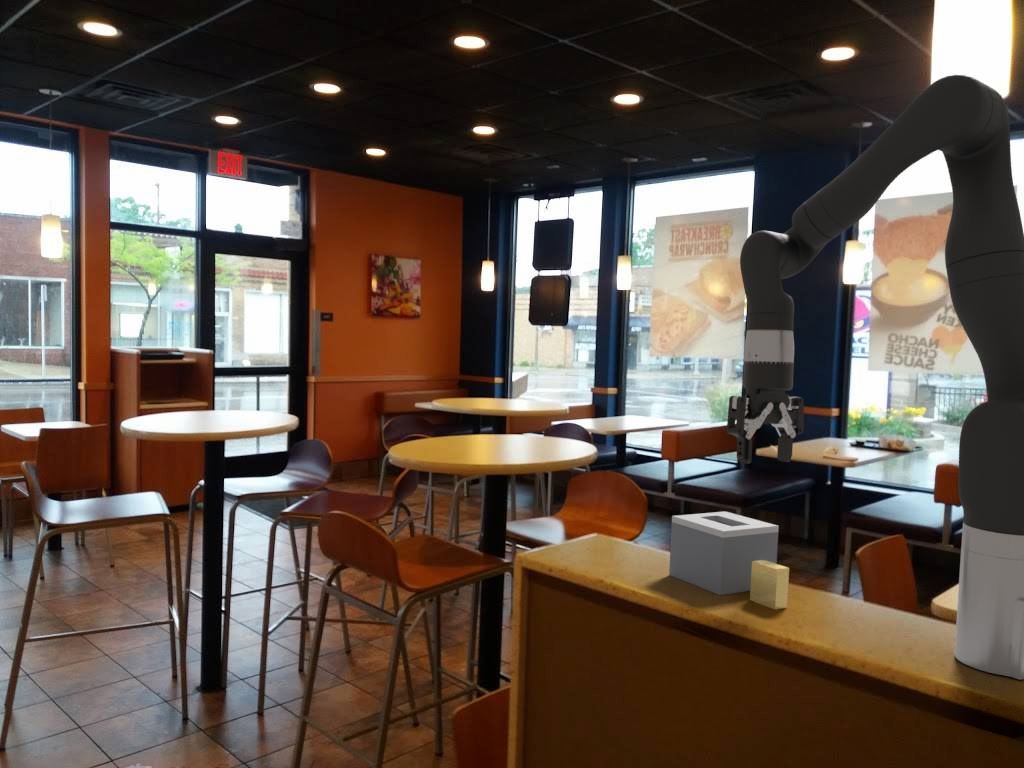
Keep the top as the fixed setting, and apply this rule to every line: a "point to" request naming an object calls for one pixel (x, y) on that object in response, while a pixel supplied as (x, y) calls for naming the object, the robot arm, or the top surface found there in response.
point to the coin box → (720, 550)
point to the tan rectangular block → (769, 584)
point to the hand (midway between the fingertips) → (764, 462)
